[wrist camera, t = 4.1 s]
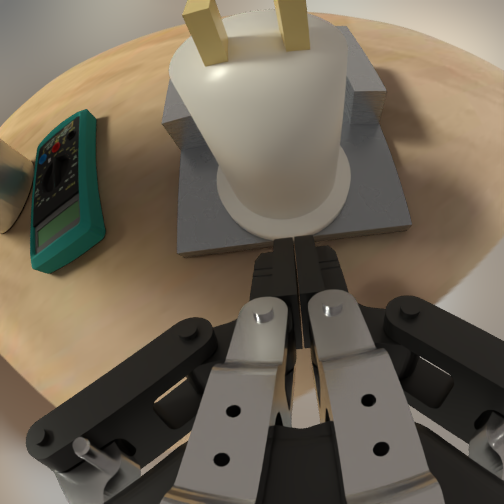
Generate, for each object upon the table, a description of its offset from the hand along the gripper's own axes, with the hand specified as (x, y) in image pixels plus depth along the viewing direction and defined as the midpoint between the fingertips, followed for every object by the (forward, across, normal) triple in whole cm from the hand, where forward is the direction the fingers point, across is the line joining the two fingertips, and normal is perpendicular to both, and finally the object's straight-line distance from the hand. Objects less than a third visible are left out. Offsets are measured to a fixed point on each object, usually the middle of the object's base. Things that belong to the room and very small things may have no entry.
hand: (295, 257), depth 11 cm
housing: (+12, 0, -6) cm, 13 cm away
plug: (+6, 0, -2) cm, 6 cm away
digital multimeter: (+10, +18, -3) cm, 21 cm away
